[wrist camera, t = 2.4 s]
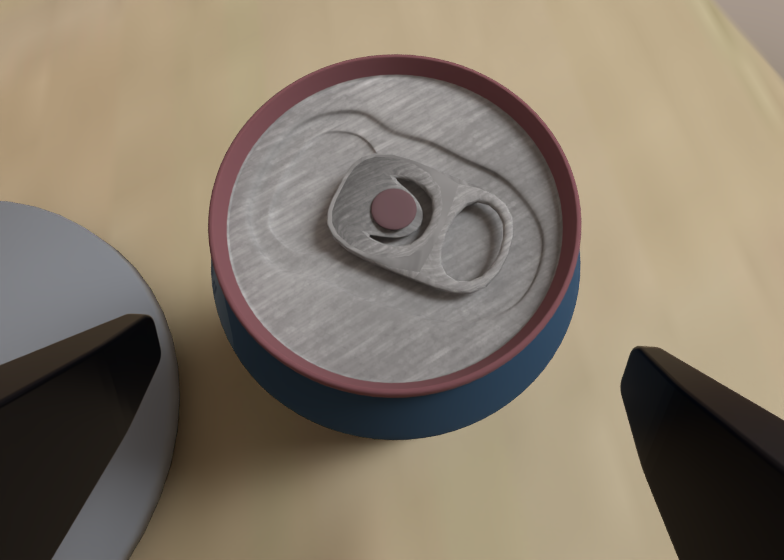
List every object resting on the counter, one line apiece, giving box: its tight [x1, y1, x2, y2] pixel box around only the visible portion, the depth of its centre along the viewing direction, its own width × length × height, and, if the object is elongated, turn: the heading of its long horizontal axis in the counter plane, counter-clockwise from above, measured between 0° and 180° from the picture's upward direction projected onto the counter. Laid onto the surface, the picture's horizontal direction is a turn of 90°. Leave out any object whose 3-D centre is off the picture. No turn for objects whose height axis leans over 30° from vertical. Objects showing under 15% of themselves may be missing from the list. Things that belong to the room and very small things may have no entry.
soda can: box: [208, 54, 581, 440], centre depth 13 cm, size 7×7×12 cm
